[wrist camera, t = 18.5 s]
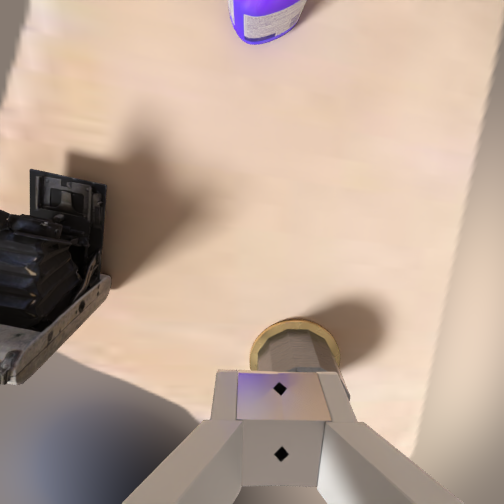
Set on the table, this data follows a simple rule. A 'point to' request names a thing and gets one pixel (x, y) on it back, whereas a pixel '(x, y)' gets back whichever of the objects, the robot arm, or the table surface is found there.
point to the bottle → (264, 18)
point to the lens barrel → (296, 349)
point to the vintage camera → (49, 270)
